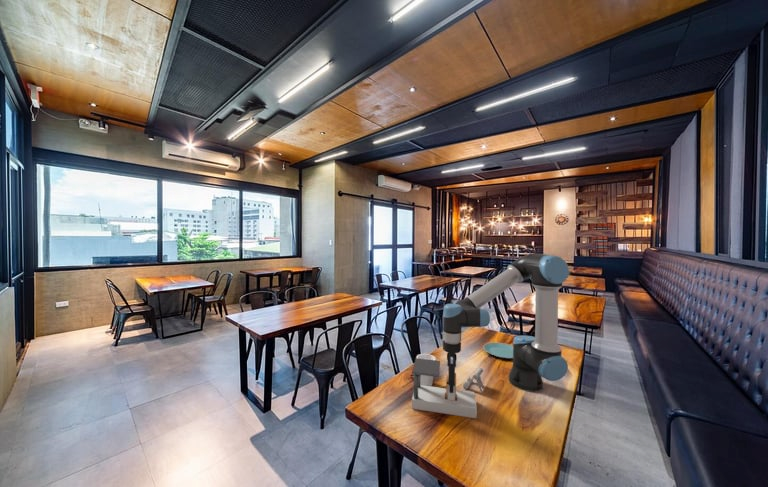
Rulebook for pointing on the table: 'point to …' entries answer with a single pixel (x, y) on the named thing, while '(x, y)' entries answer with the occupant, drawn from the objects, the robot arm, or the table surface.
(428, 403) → the board
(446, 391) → the peg
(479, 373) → the portable electronic device stand
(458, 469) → the table surface
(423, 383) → the foam cup
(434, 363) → the dark grey l-shaped piece
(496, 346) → the plate
